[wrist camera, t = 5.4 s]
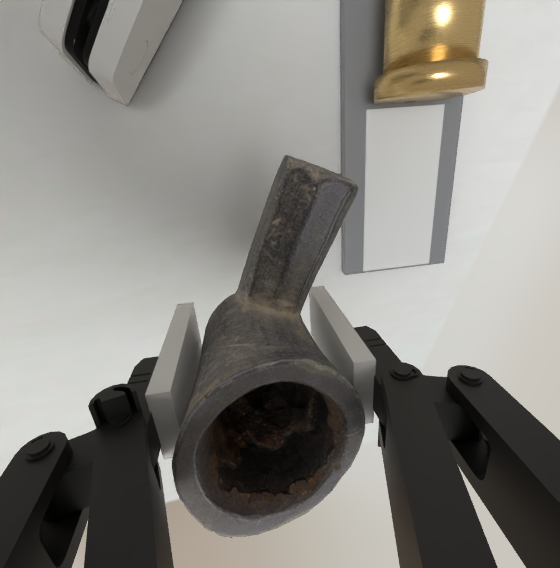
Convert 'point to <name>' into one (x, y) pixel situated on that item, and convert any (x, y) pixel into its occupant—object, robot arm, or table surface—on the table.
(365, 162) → the base
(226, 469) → the pipe
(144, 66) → the grey napkin holder
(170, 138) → the table surface
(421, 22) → the cylinder
